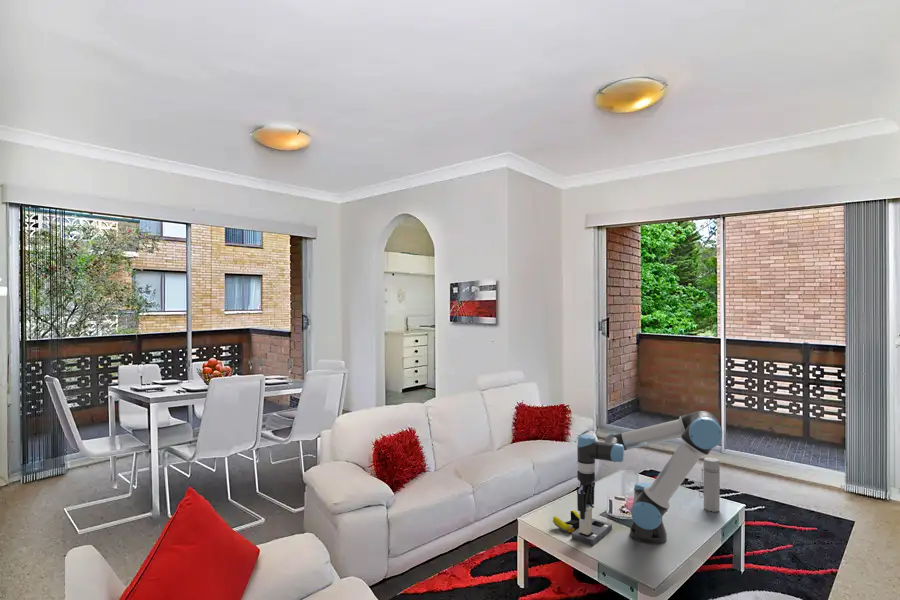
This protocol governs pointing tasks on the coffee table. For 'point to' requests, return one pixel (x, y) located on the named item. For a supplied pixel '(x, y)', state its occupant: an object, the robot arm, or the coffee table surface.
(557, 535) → the coffee table surface
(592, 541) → the panel
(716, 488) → the water bottle
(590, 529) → the plug
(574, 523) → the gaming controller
